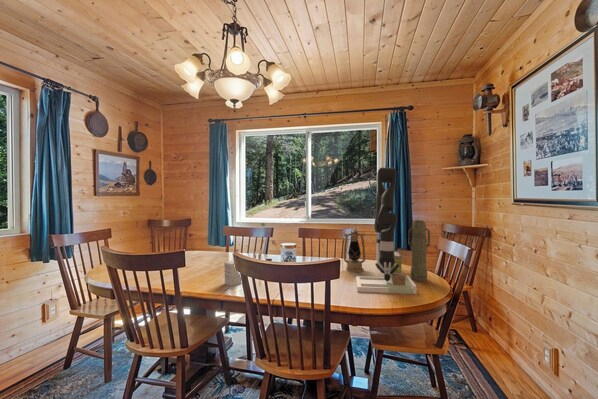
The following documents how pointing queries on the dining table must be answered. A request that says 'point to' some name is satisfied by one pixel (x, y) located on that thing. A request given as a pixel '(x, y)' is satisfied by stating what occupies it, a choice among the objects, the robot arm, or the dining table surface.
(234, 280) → the supplement box
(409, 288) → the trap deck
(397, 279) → the walnut block
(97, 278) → the dining table surface
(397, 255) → the tea box
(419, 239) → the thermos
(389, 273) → the robot arm
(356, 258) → the lantern
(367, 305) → the dining table surface
